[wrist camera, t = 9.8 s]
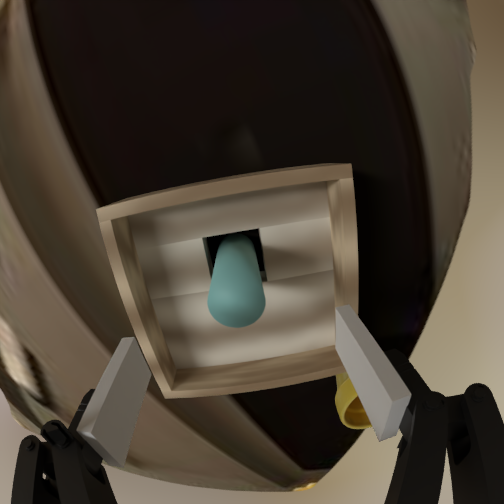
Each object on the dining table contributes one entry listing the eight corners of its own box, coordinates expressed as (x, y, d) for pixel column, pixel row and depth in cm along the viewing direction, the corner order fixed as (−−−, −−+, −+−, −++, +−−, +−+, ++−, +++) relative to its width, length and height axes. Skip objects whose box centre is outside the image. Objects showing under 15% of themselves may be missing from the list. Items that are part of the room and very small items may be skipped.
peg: (221, 271, 31) (214, 331, 19) (214, 236, 30) (201, 281, 18) (257, 265, 31) (269, 323, 20) (251, 230, 30) (261, 271, 18)
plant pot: (356, 389, 38) (377, 433, 29) (307, 373, 36) (324, 424, 27) (398, 342, 36) (430, 382, 27) (353, 318, 34) (384, 364, 25)
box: (124, 198, 28) (96, 209, 21) (325, 163, 28) (351, 163, 21) (174, 362, 35) (165, 398, 28) (336, 336, 35) (354, 369, 28)
